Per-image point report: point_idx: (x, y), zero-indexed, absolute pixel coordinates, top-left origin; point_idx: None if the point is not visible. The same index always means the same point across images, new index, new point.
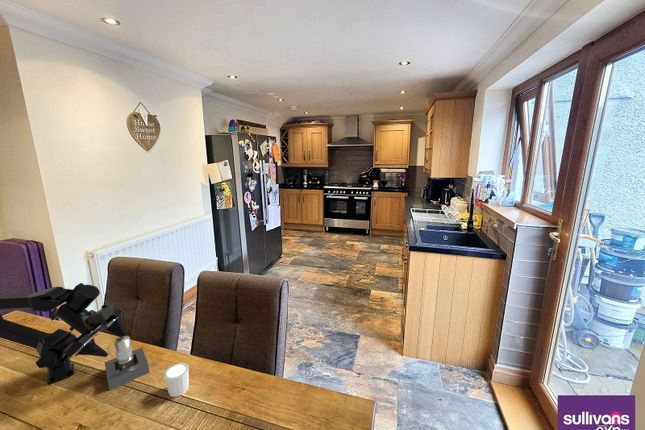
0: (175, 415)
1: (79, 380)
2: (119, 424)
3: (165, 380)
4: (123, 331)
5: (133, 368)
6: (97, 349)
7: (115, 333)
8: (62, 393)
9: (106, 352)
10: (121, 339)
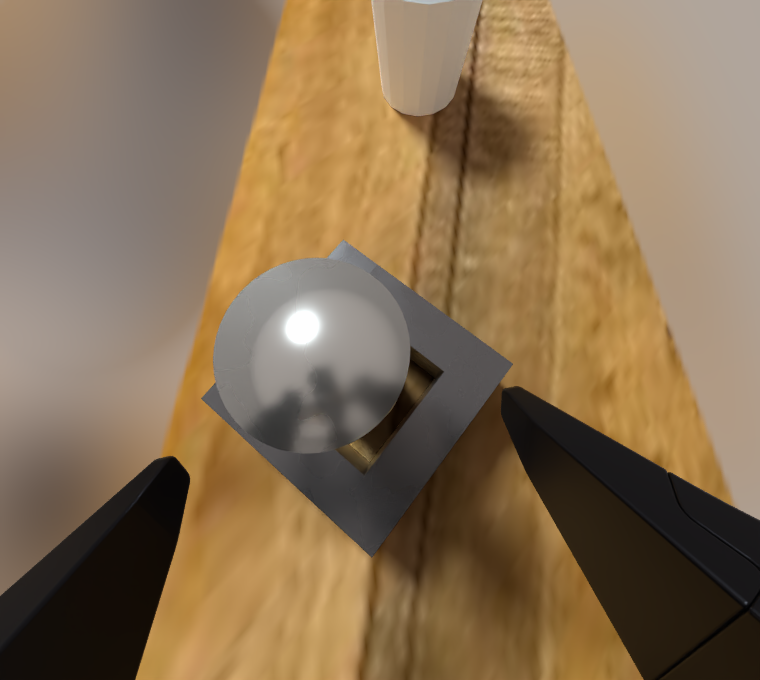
0: (524, 29)
1: (471, 636)
2: (615, 179)
3: (471, 19)
4: (90, 534)
5: (393, 292)
6: (686, 483)
7: (126, 674)
8: (574, 640)
9: (525, 403)
10: (302, 368)
